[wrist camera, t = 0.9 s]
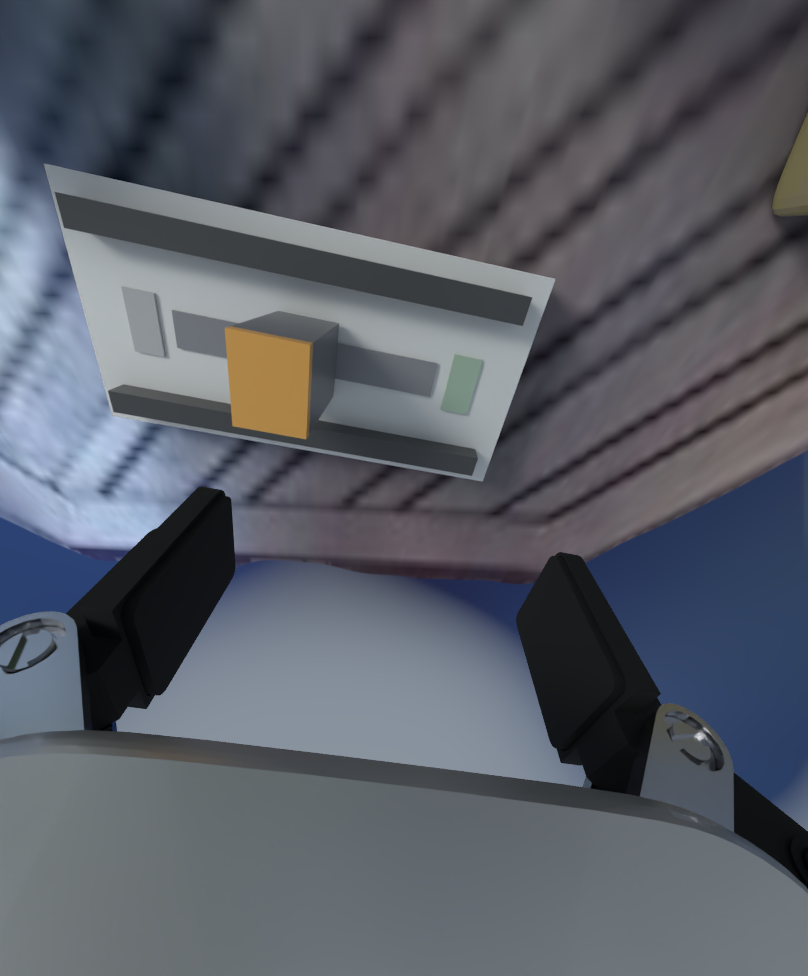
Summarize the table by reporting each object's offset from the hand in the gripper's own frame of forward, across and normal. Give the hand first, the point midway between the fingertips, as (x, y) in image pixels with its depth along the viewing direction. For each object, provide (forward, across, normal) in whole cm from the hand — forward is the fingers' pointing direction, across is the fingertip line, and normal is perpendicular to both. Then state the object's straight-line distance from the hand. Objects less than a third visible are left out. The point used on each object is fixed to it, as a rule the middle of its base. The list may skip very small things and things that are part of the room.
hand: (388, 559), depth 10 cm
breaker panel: (+21, +7, -1) cm, 22 cm away
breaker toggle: (+18, +7, -1) cm, 19 cm away
